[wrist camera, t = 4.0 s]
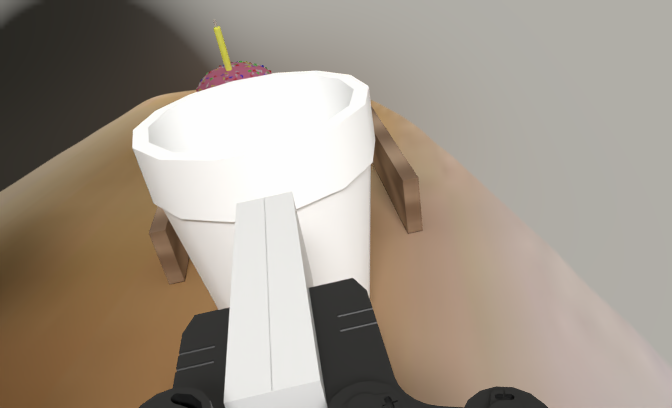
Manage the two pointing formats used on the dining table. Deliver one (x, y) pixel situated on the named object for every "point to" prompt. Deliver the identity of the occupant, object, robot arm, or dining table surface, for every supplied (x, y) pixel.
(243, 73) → the cupcake
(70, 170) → the dining table surface
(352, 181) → the foam cup
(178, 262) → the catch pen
